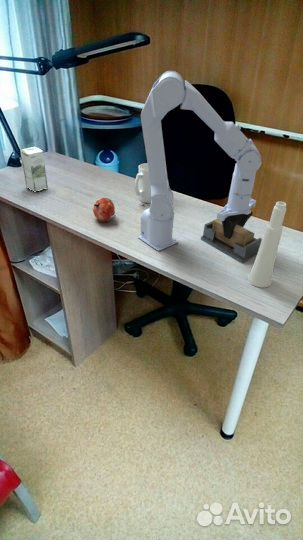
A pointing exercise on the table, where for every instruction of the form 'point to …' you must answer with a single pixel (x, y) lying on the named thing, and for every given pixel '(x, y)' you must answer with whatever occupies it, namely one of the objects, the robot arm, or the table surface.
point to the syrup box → (34, 168)
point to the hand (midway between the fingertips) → (231, 235)
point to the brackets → (235, 252)
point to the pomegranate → (104, 209)
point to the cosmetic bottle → (268, 249)
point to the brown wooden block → (238, 235)
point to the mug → (143, 184)
